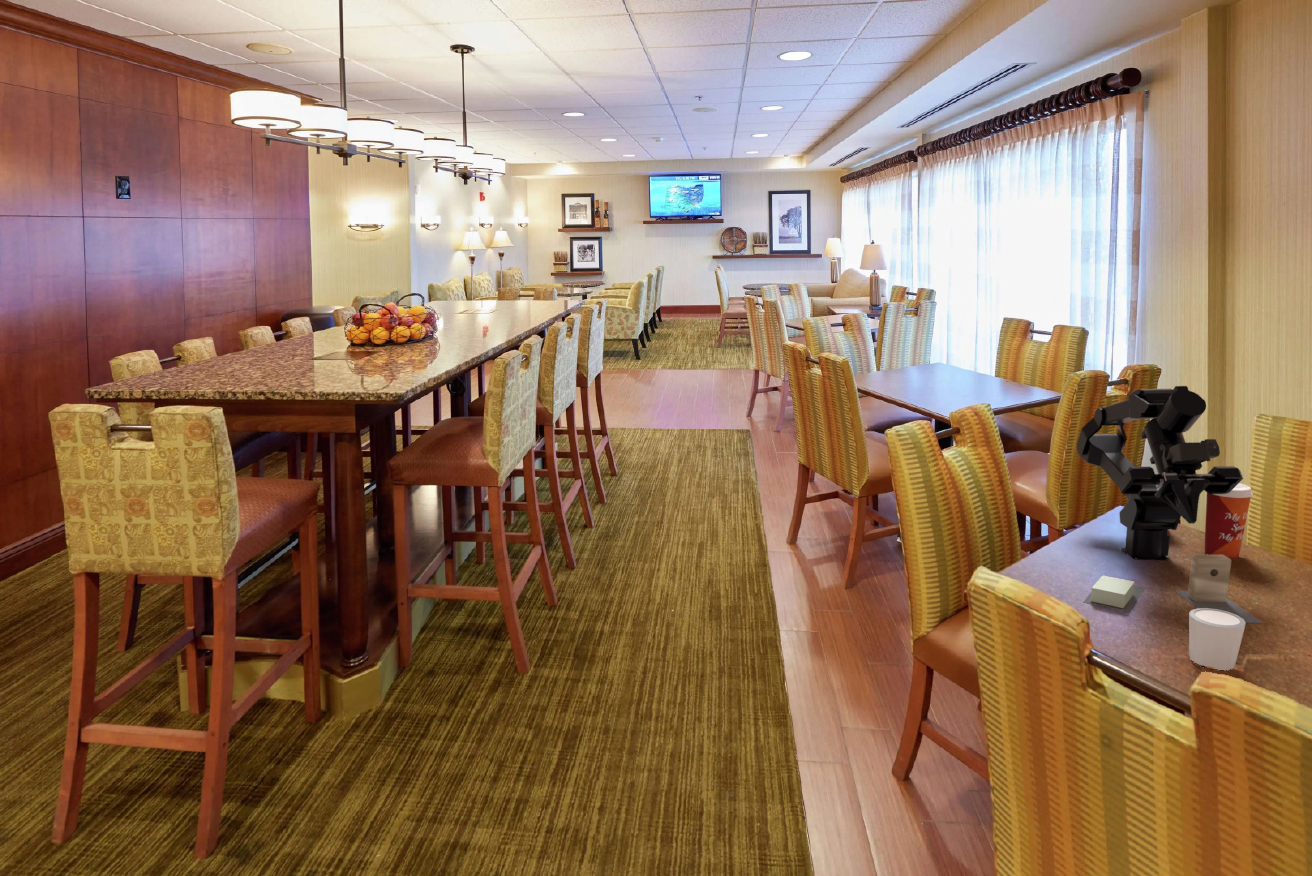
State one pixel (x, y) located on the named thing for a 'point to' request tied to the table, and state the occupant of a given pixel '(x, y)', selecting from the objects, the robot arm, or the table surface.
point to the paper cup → (1226, 521)
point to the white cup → (1215, 637)
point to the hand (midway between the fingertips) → (1192, 522)
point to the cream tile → (1209, 578)
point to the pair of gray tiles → (1223, 606)
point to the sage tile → (1112, 591)
